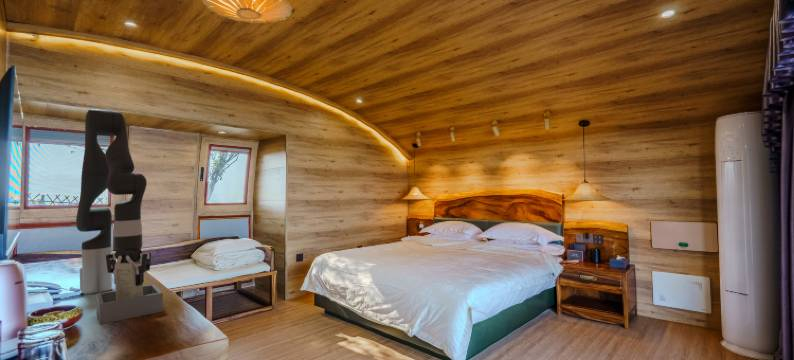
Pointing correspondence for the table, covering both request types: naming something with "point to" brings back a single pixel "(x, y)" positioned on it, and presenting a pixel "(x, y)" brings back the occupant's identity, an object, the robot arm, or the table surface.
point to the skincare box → (126, 281)
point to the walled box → (128, 305)
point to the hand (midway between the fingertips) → (129, 285)
